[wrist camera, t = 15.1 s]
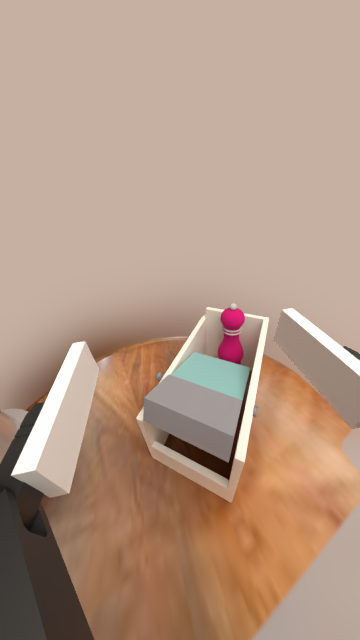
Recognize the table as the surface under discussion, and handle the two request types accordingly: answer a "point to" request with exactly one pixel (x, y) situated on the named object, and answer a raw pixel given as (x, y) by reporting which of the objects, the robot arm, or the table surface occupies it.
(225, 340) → the pepper mill
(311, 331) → the robot arm
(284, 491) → the table surface
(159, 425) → the trapdoor
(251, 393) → the frame
